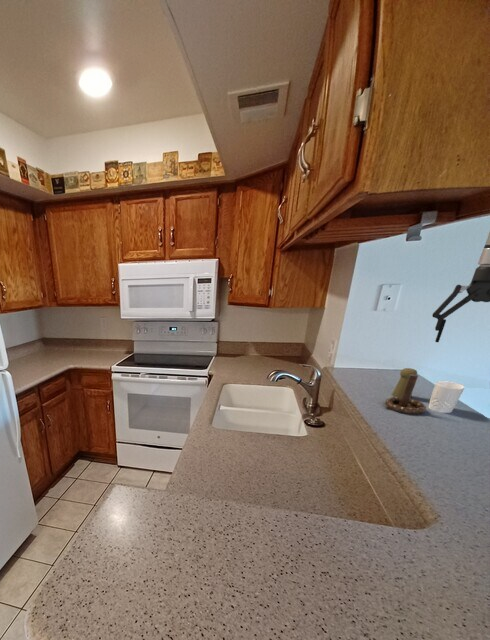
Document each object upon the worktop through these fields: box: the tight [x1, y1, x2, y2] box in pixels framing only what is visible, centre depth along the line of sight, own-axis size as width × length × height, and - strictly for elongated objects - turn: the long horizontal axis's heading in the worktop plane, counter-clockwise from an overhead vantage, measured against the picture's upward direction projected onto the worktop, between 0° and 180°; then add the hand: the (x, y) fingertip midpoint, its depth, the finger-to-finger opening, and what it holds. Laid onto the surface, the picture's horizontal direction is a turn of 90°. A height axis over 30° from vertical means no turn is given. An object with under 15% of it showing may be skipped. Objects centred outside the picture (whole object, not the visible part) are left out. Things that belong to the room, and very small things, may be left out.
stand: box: [386, 374, 419, 416], centre depth 114 cm, size 9×9×14 cm
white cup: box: [428, 380, 466, 414], centre depth 115 cm, size 8×8×10 cm
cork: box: [391, 367, 418, 397], centre depth 128 cm, size 6×6×11 cm
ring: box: [384, 396, 427, 415], centre depth 116 cm, size 12×12×2 cm
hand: (464, 343), depth 100 cm, fingers open, 13 cm apart
